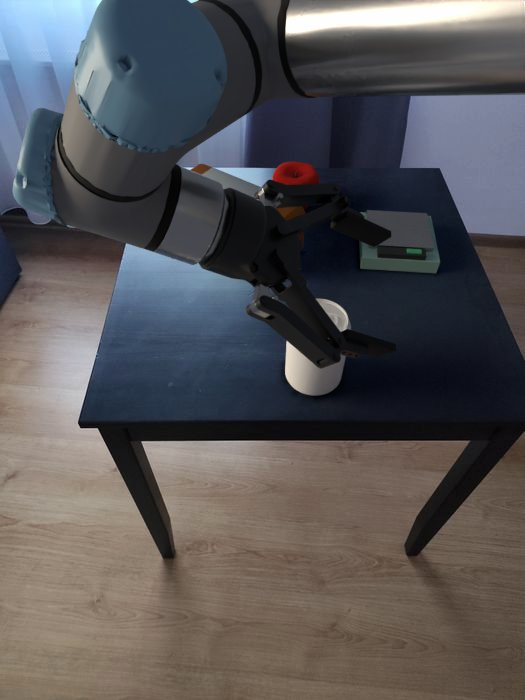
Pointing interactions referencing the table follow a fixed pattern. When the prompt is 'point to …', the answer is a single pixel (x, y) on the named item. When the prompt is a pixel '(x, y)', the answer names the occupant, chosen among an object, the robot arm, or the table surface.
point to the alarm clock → (245, 189)
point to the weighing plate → (403, 229)
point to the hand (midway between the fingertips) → (384, 292)
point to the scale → (400, 257)
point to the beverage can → (308, 374)
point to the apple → (296, 174)
